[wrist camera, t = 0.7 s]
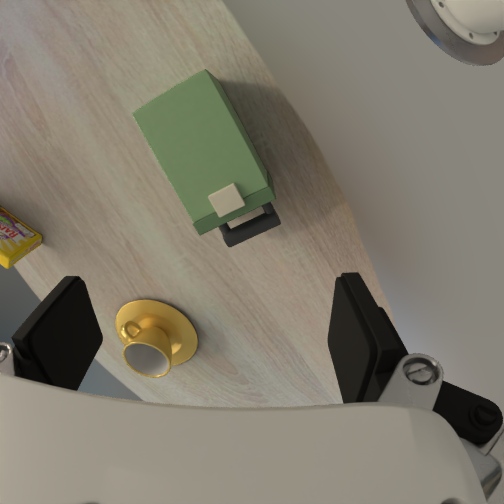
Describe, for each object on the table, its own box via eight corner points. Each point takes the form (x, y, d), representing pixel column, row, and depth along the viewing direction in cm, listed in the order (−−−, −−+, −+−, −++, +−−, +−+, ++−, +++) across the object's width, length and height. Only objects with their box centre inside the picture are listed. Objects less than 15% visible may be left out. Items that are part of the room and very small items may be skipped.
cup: (215, 345, 41) (211, 374, 36) (156, 372, 44) (147, 398, 39) (157, 282, 37) (144, 308, 32) (101, 319, 40) (86, 344, 35)
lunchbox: (206, 67, 20) (293, 234, 25) (218, 79, 27) (286, 208, 32) (128, 114, 21) (217, 268, 27) (157, 113, 28) (226, 236, 34)
